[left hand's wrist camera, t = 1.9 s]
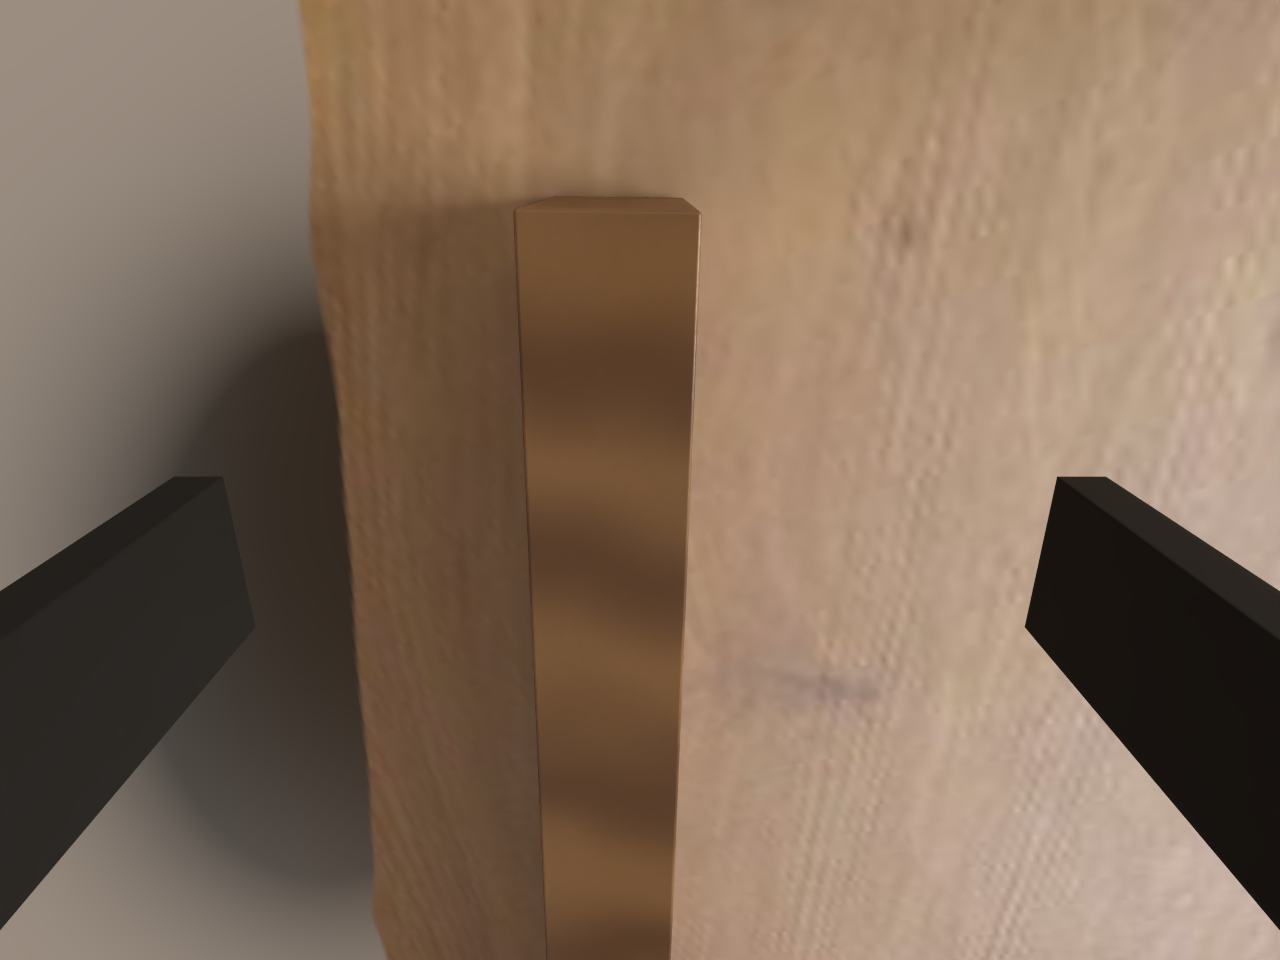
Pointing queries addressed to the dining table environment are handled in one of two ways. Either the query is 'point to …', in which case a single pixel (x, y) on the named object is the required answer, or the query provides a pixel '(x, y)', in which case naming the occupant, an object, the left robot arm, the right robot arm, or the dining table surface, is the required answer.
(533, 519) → the post
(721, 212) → the dining table surface
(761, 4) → the dining table surface
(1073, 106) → the dining table surface
